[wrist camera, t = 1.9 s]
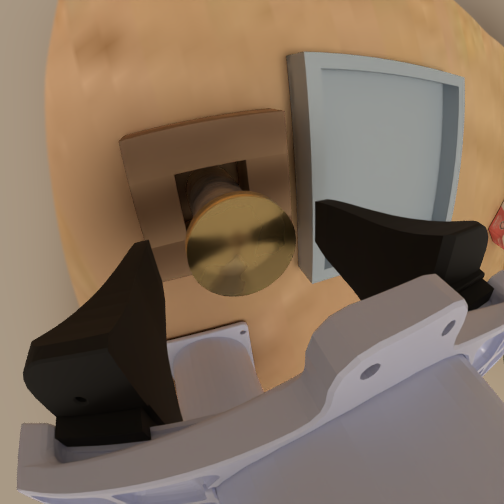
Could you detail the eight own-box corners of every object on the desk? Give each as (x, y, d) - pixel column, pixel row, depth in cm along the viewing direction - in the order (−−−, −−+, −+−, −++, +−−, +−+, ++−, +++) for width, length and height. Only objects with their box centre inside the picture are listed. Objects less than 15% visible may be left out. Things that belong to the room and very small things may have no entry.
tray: (431, 226, 27) (447, 237, 25) (298, 266, 24) (312, 283, 22) (443, 74, 18) (464, 77, 16) (286, 56, 15) (304, 51, 13)
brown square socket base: (279, 232, 22) (292, 249, 20) (157, 262, 20) (158, 283, 18) (269, 108, 17) (284, 110, 15) (124, 135, 15) (118, 141, 13)
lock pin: (245, 210, 20) (296, 280, 13) (182, 225, 19) (200, 307, 12) (237, 148, 18) (293, 187, 11) (168, 162, 17) (175, 212, 10)
